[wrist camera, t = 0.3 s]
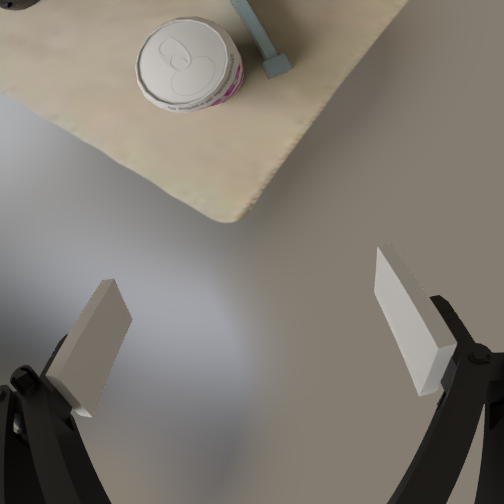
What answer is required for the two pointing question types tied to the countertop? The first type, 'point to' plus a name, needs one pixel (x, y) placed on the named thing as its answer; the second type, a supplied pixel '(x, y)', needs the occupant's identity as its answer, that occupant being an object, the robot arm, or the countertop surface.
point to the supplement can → (189, 65)
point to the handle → (262, 41)
